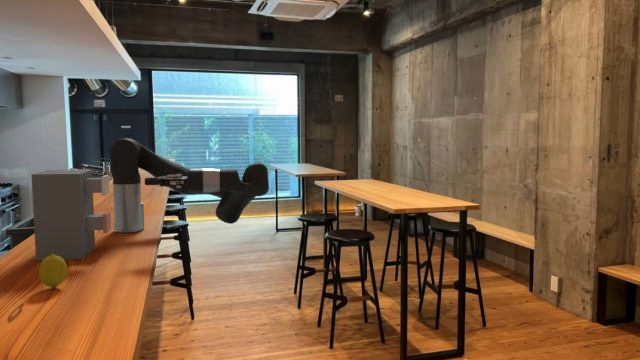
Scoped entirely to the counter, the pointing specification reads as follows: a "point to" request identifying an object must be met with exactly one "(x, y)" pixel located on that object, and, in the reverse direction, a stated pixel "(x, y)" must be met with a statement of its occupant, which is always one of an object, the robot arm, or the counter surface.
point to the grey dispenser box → (62, 214)
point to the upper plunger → (97, 185)
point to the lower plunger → (99, 222)
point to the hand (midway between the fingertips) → (145, 181)
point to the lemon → (53, 271)
